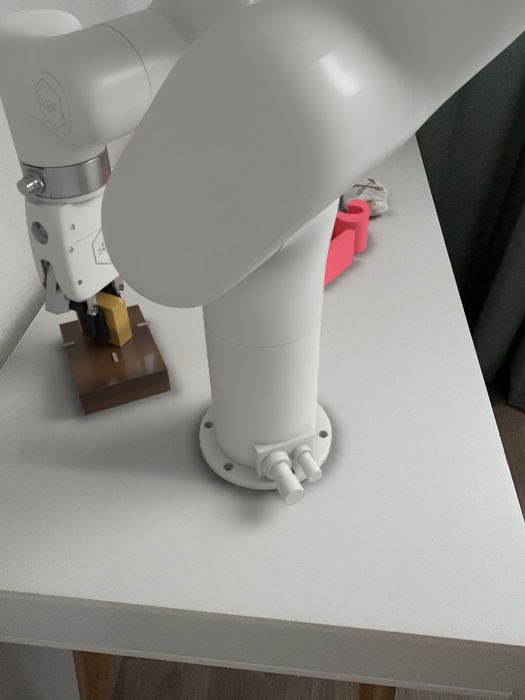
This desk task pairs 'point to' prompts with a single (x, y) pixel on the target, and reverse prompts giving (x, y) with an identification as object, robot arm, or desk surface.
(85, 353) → the plate
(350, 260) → the letters
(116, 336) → the handle
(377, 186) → the stone
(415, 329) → the desk surface
